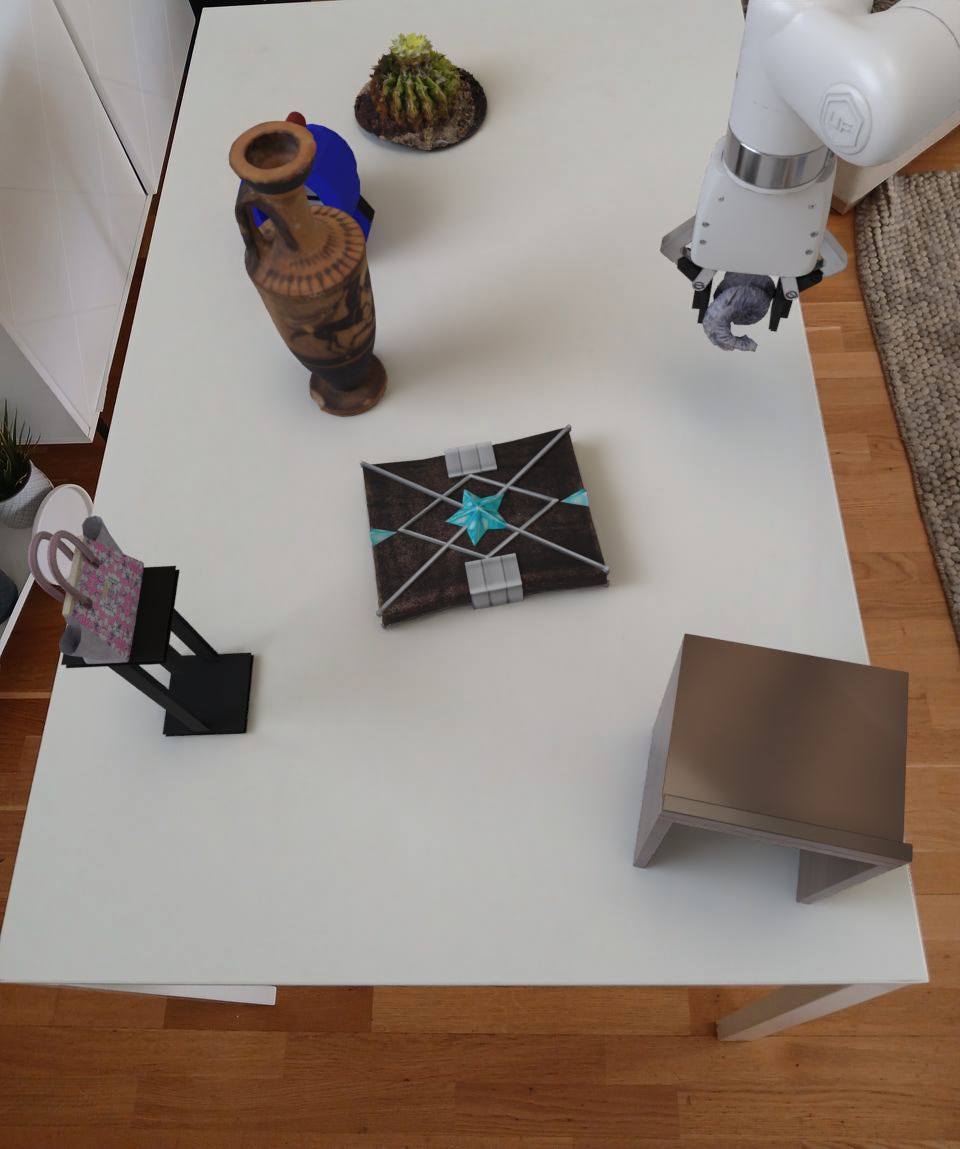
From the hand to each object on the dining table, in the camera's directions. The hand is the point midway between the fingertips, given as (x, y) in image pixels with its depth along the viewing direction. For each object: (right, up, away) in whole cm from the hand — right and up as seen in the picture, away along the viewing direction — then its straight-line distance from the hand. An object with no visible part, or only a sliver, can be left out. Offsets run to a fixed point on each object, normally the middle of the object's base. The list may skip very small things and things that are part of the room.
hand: (738, 314), depth 82 cm
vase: (-37, -3, +16) cm, 41 cm away
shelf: (-3, -43, -7) cm, 44 cm away
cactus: (-31, +36, +34) cm, 58 cm away
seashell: (0, 0, +1) cm, 1 cm away
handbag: (-48, -35, +2) cm, 59 cm away
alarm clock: (-43, +17, +26) cm, 53 cm away
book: (-23, -19, +7) cm, 31 cm away
